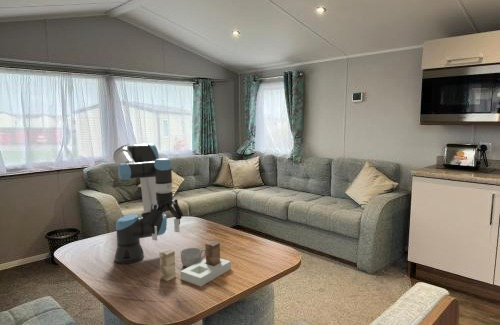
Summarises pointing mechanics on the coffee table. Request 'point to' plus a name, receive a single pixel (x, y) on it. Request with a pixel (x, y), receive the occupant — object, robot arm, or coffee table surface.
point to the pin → (167, 264)
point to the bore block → (204, 272)
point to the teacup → (191, 256)
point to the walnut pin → (212, 253)
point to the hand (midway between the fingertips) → (166, 235)
